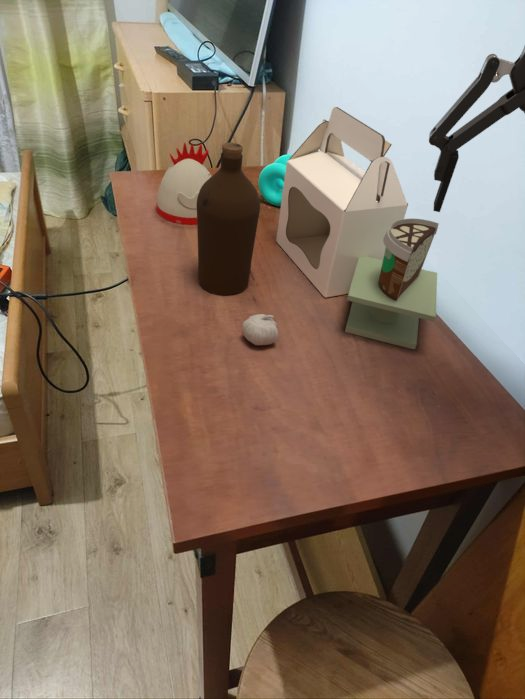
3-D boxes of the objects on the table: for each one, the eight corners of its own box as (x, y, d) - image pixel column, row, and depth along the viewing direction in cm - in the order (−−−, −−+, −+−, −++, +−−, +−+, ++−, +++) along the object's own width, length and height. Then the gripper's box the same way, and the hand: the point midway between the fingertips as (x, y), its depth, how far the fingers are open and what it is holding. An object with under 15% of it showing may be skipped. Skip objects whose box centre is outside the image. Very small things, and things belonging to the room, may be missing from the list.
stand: (423, 309, 95) (437, 272, 90) (420, 355, 85) (435, 316, 80) (349, 291, 97) (359, 254, 92) (338, 333, 87) (348, 295, 82)
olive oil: (241, 303, 90) (254, 164, 74) (185, 288, 92) (187, 149, 76) (258, 274, 98) (274, 142, 82) (207, 261, 100) (213, 129, 84)
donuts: (307, 198, 127) (314, 158, 121) (292, 213, 120) (298, 171, 114) (271, 187, 130) (276, 148, 123) (254, 201, 123) (258, 160, 116)
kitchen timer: (223, 224, 112) (227, 156, 102) (159, 225, 109) (157, 155, 99) (213, 196, 122) (215, 132, 113) (154, 196, 119) (152, 130, 109)
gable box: (383, 289, 99) (429, 142, 81) (325, 299, 94) (359, 145, 76) (328, 234, 114) (356, 100, 96) (274, 240, 109) (294, 100, 91)
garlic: (280, 334, 85) (284, 309, 81) (273, 355, 81) (277, 329, 77) (246, 326, 86) (248, 301, 82) (237, 346, 81) (239, 320, 78)
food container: (389, 261, 91) (405, 209, 85) (421, 274, 89) (440, 222, 82) (358, 290, 83) (373, 234, 76) (392, 305, 81) (411, 249, 74)
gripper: (712, 24, 49) (596, 228, 62) (447, -14, 52) (392, 186, 66) (747, 35, 43) (611, 256, 56) (448, -9, 47) (387, 209, 60)
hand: (493, 219), depth 61 cm, fingers open, 13 cm apart
